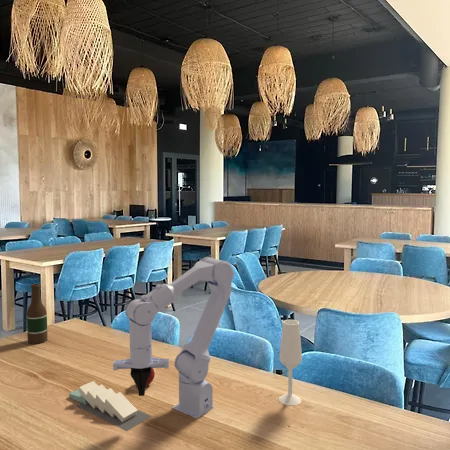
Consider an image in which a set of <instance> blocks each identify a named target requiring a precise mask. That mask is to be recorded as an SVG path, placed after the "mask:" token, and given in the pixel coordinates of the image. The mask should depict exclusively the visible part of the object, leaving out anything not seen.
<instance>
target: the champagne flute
mask: <svg viewBox="0 0 450 450" xmlns="http://www.w3.org/2000/svg"><path fill="white" fill-rule="evenodd" d="M281 328H282V329H281V339H280V346H279V347H280V348H279V356H278V358H279V361H280V362H281V364H282V365H283V366H284V367H285V368H286V369H288V377H287V379H288V382H287V383H288V385H287V393H285V394H282V395H281V396H280V397H279V398H278V401H279V402H280V404H283V405H286V406H297V405H300V404H301V402H302V399H301V398H300V397H299V396H297V395H296V394H294V393H293V369H295V368H297V367H298V366H299V365H300V364H301V363H302V360H303V355H302V353H303V352H302V340H301V329H300V322H299V321H298V320H297V319H285V320H283V321H282V327H281Z"/></svg>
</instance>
